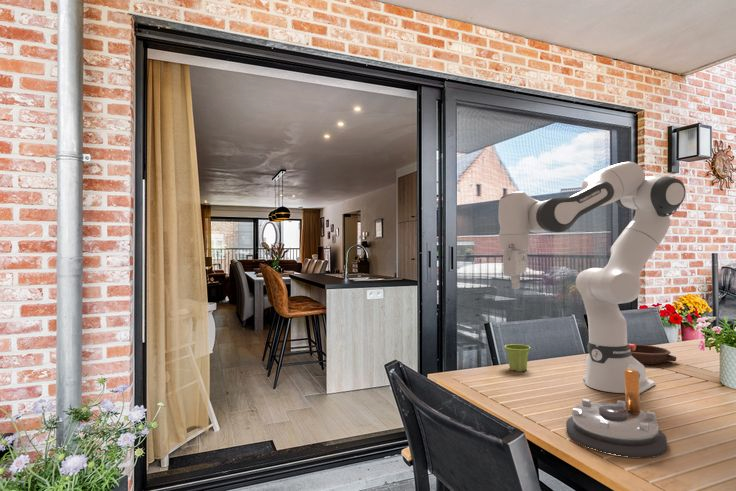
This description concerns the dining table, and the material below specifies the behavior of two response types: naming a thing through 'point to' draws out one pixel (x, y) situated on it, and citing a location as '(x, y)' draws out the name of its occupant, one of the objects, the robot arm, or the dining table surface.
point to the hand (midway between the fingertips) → (516, 289)
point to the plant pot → (517, 356)
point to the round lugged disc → (618, 417)
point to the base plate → (618, 449)
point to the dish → (651, 354)
